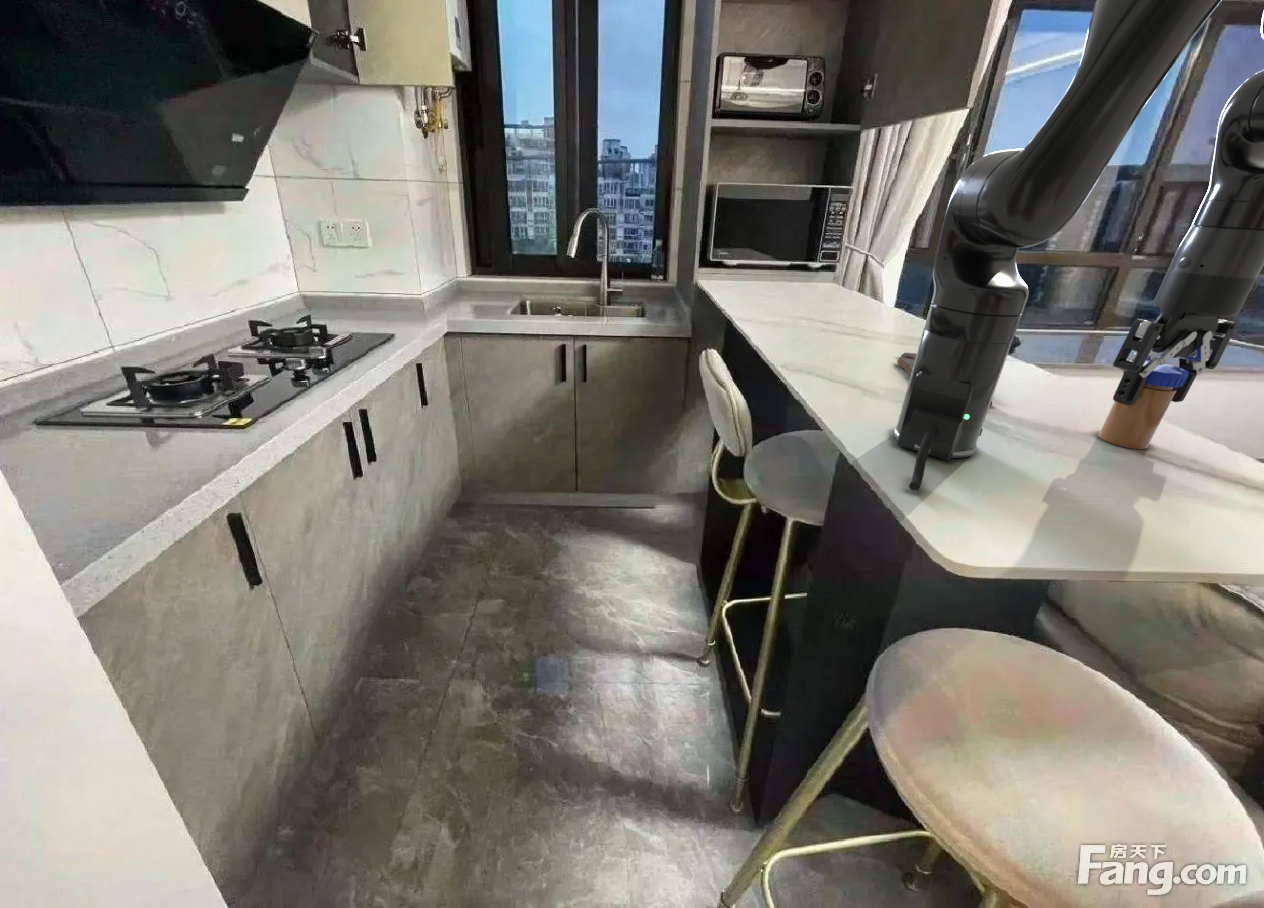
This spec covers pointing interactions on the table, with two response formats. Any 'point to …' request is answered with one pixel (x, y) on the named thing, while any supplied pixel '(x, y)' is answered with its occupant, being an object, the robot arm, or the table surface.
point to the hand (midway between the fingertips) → (1147, 401)
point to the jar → (1137, 418)
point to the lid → (1167, 376)
